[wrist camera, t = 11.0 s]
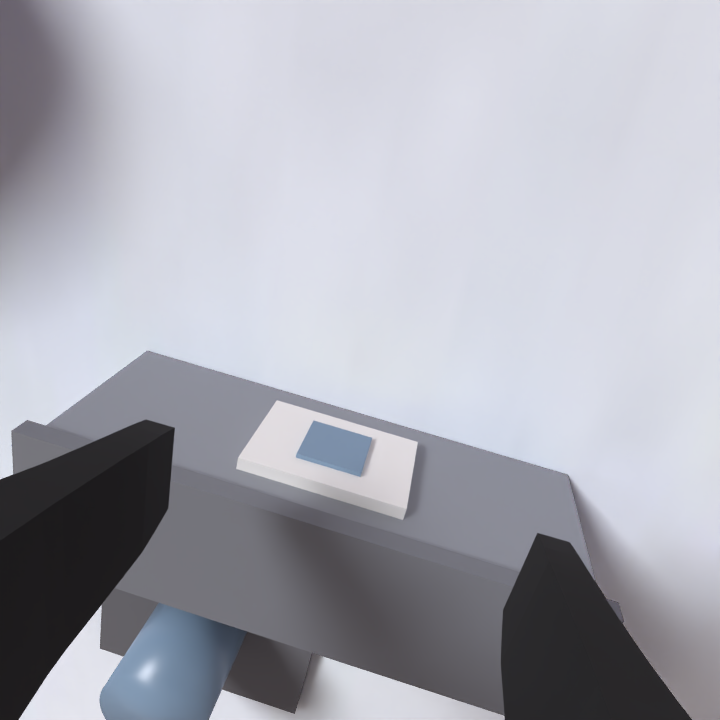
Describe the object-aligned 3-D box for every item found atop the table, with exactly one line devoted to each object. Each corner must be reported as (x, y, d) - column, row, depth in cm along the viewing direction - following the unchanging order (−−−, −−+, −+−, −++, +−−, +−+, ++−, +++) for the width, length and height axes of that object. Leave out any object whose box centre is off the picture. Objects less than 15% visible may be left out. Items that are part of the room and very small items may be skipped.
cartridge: (266, 610, 25) (221, 719, 20) (223, 658, 27) (171, 768, 22) (190, 559, 25) (126, 657, 20) (150, 610, 26) (83, 712, 22)
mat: (341, 550, 24) (338, 561, 23) (298, 701, 28) (294, 713, 27) (115, 479, 24) (107, 488, 24) (107, 638, 29) (100, 648, 28)
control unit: (582, 465, 20) (627, 614, 14) (532, 567, 22) (554, 734, 16) (140, 335, 21) (11, 423, 15) (133, 444, 23) (17, 558, 17)
